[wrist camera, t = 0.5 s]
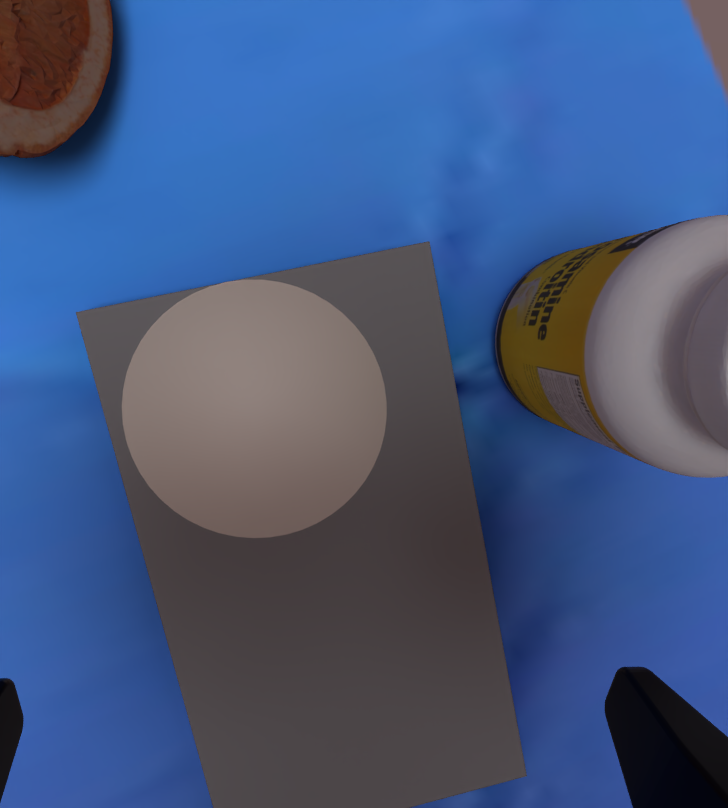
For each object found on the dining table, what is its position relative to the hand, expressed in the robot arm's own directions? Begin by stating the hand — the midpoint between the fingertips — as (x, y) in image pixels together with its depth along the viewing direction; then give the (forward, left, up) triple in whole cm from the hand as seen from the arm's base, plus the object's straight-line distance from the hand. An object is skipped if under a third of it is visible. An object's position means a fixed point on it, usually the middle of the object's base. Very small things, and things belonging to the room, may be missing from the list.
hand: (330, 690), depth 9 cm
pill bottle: (+3, -11, -14) cm, 18 cm away
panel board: (-3, 0, -14) cm, 14 cm away
